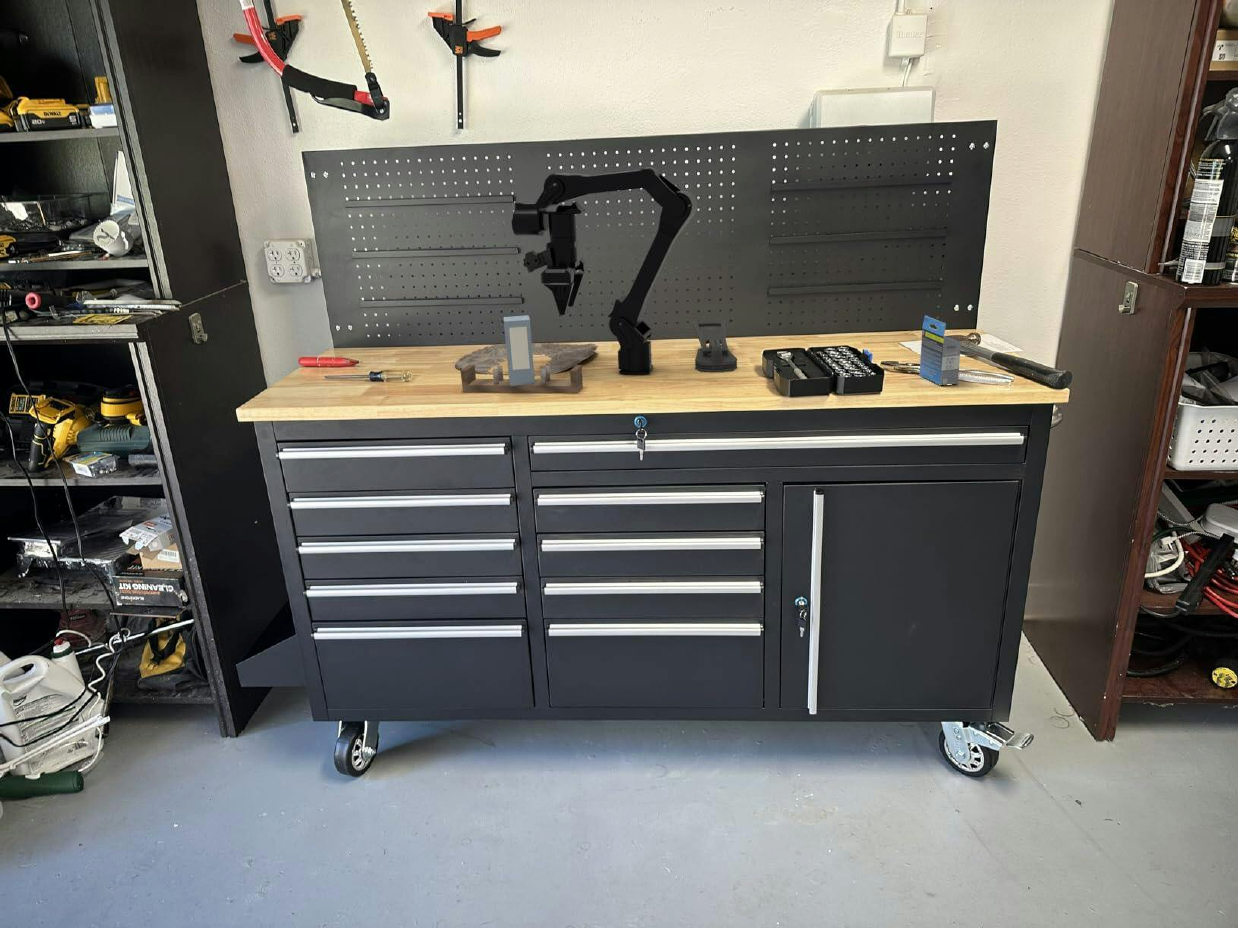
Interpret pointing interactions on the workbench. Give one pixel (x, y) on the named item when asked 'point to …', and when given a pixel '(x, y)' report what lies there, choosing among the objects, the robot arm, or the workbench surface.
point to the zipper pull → (713, 347)
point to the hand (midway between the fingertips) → (566, 310)
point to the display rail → (504, 385)
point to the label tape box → (939, 354)
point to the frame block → (519, 350)
